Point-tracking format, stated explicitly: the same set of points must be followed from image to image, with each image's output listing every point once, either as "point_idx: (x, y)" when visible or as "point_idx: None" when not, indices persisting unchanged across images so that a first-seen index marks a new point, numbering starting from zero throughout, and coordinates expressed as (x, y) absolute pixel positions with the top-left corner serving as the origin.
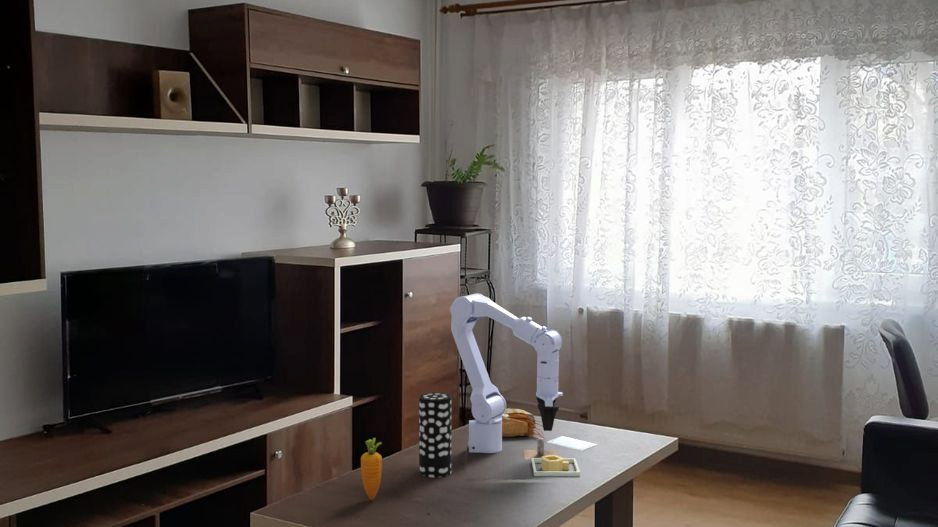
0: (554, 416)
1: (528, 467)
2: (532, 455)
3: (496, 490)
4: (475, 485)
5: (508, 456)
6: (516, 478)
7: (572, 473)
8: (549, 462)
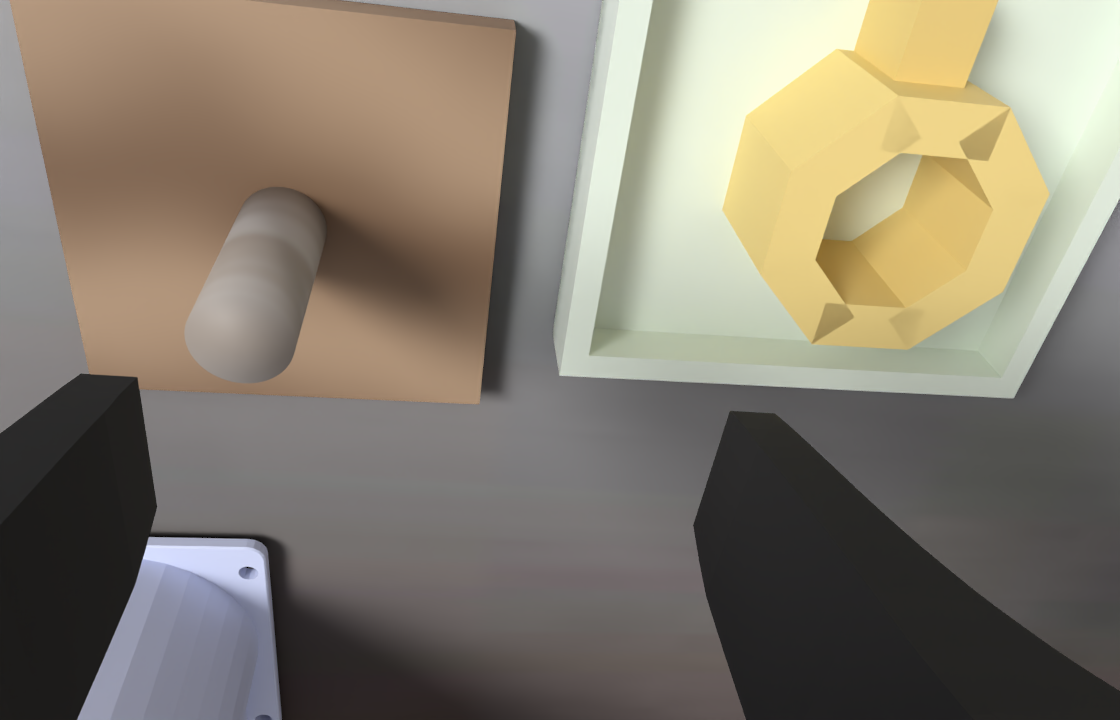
0: (1051, 654)
1: None
2: (319, 318)
3: (1094, 599)
4: None
5: (264, 497)
6: (905, 478)
7: None
8: (998, 277)
